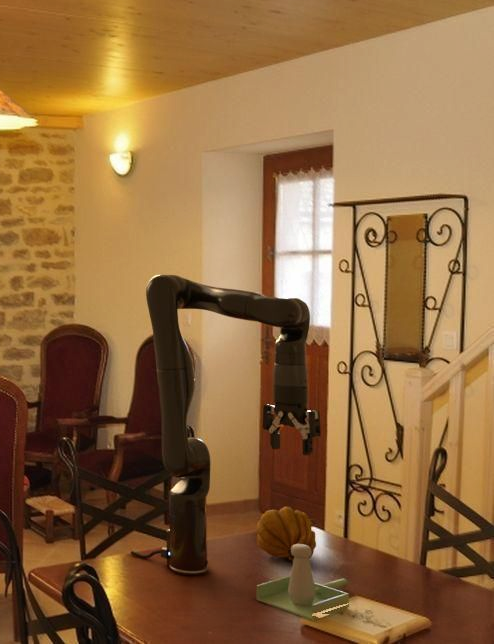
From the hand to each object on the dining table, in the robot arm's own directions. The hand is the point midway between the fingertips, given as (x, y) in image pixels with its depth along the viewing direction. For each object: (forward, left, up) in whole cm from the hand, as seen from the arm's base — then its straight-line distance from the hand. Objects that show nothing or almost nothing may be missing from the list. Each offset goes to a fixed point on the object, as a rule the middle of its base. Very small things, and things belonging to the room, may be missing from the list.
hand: (291, 451), depth 209 cm
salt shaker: (+6, -5, -33) cm, 34 cm away
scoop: (+6, 0, -33) cm, 34 cm away
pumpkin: (-17, +21, -33) cm, 43 cm away
